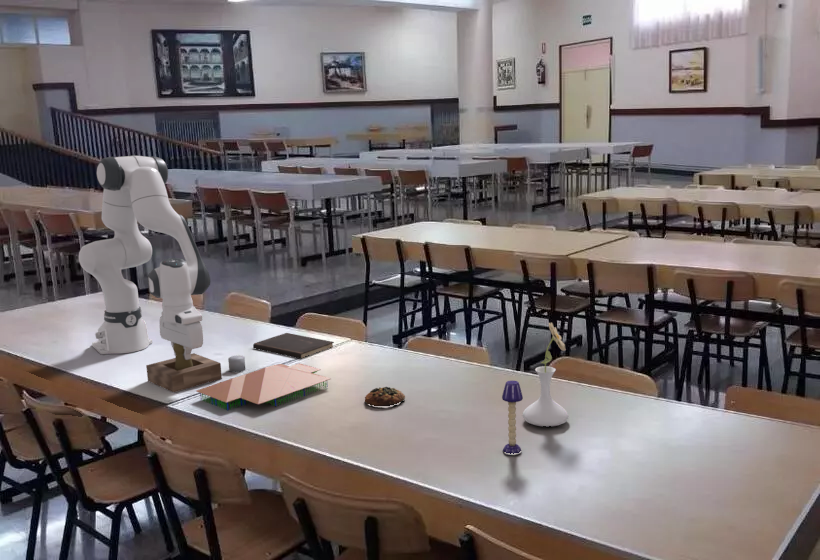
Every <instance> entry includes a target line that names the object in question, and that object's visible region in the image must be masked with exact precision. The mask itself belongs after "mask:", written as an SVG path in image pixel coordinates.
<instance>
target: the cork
mask: <svg viewBox="0 0 820 560" xmlns="http://www.w3.org/2000/svg"><path fill="white" fill-rule="evenodd" d="M172 350H173V353H174V352H175V353H176V356H175V358H176V361H175V370H176V371H178V370H182V369H186V368H189V367H193V363H192V359H189V360H186V359H184V358H183V354H184V352H185V349H184V346H182V345H179V344H176V343H175V344H174V346H173V347H172Z"/></svg>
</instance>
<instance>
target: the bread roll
mask: <svg viewBox="0 0 820 560" xmlns="http://www.w3.org/2000/svg"><path fill="white" fill-rule="evenodd" d="M405 399H406V395H405V394H404V393H403V392H402V391H401V390H399V389H397V388H395V387H389V386H383V387H375V388H373V389H372V390H370V391H369V392H368V393H367V394H366V395H365V397H364V400H365V402H366V403H367V404H370V405H374V406H390V405H394V404H397V403H399V402H401V401H403V400H404V401H405ZM365 402H364V403H365ZM366 403H365V404H366ZM367 404H366V405H367Z"/></svg>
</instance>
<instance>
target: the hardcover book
mask: <svg viewBox="0 0 820 560" xmlns="http://www.w3.org/2000/svg"><path fill="white" fill-rule="evenodd" d="M334 343H335V342H334V341H330V340H326V339H320V338H315V337H310V336H304V335H299V334H295V333H289V332H285V333H281V334H278V335H276V336H273V337H268V338H266V339H263V340H259V341H256V342H254V343H253V345H252V346H253V347H252V348H256V349H255V350H258V349H260V350H259V351H262V350H264V351H263V352H267V351H268V352H269V353H272V354H276V353H278V355H281V354H282V355H281V356H285V355H287V357H290V356H291V358H295V357H296V358H295V359H299V358H301V359H303V357H304V358H306V357H305V356H307V357H309V356H311V354H312V355H314V353H315V354H316V352H318V353H319V351H320V352H323V351H325V349H326V350H328V349H327V348H329V349H330V347H331V348H333V347H334V346H333V345H334ZM322 350H323V351H322ZM268 352H267V353H268ZM308 355H309V356H308Z"/></svg>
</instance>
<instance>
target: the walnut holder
mask: <svg viewBox="0 0 820 560" xmlns="http://www.w3.org/2000/svg"><path fill="white" fill-rule="evenodd" d="M191 359H192V363H193V367H189V368H186V369H182V370H178V371H176V370H175V361H176V357H173V358H170V359H166V360H162V361H159V362H158V361H157V362H154V363H149V364H146V375H147V376H146V377H147V382H149V381H150V383H151V382H152V384H153V383H154V384H153V385H156V386H158V387H160V386H161V387H160V388H162V387H163V389H164V388H165V389H164V390H167V391H169V392H171V393H173V392H174V393H177V392H180V391H184V390H187V389H190V388H194V387H197V386H201V385H205V384H209V383H212V382H216V381H219V380H222V379H223V376H222V375H223V374H222V365H221V362H219V361H216V360H213V359H210V358H208V357H205V356H202V355H199V354H197V353H195V352H194V353H191Z"/></svg>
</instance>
